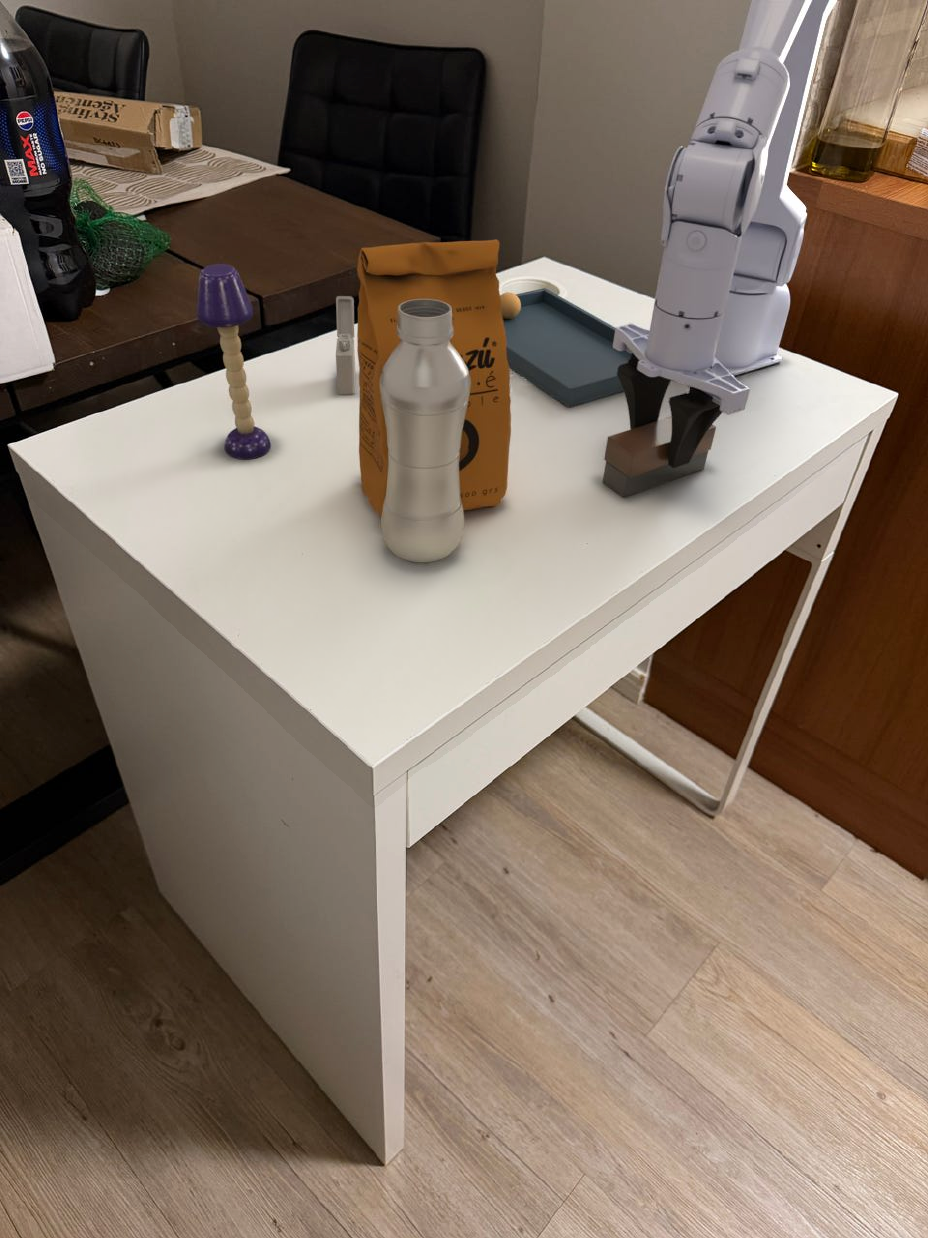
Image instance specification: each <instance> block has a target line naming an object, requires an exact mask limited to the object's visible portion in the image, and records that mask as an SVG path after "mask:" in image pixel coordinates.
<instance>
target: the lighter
mask: <svg viewBox="0 0 928 1238" xmlns="http://www.w3.org/2000/svg"><path fill="white" fill-rule="evenodd" d="M354 304H355V300H354V297H353V296H352V295H337V296H336V297H335V307H336V311H335V312H336V337H337V338H336V346H335V347H336V348H335V366H336V367H335V368H336V385H337V386H336V387H337V394H338V395H355V393H356V359H355V358H356V356H355V352H356V351H355V339H354V338H355V305H354Z"/></svg>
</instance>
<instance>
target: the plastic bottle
mask: <svg viewBox="0 0 928 1238" xmlns="http://www.w3.org/2000/svg"><path fill="white" fill-rule="evenodd" d="M397 335H398V337H399V338H401V342H400V343H399V344H398V345H397V347H396V348H395V349H394V351H393V352H392V353H391V355H390V356H389V358H388V360H387V361H386V363H385V365H384V366H383V369H382V373H381V376H380V381H379V383H380V393H381V399H382V405H383V411H384V417H385V423H386V430H387V446H388V461H389V465H388V477H387V489H386V497H385V500H384V504H383V510H382V517H381V516H380V518H381V519H380V527H381V532H382V537H383V541H384V543H385V545H386V546H387V548H388V549H389V550H390V551H391V552H392V553H393V554H394V555H395V556H397V557H399V558H401V559H403V560H405V561H409V562H413V563H414V562H415V563H431V562H435V561H439V560H442V559H445V558H447V557H448V556H450V555H451V554H452V553H453V552H454V551H455V550H456V549H457V548H458V547H459V545H460V543H461V540H462V539H463V533H464V529H465V526H466V525H465V513H464V510H463V505H462V500H461V497H460V477H459V459H460V448H461V439H462V430H463V425H464V420H465V415H466V410H467V405H468V400H469V395H470V388H471V379H470V375H469V371H468V368H467V366H466V364H465V363H464V361H463V359H462V358H461V356H460V354H459V353H458V352H457V350H456V349H455V348H454V347H453V345H452V344H451V343H450V339H451V338H452V337H453V326H452V308H451V306H450V305H449V304H447V303H445V302H442V301H439V300H433V299H414V300H409V301H405V302H403V303H401V304H400V305H399V306H398V325H397Z"/></svg>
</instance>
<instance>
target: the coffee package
mask: <svg viewBox="0 0 928 1238" xmlns="http://www.w3.org/2000/svg"><path fill="white" fill-rule="evenodd" d="M499 251H500V240H498V239H488V240H459V241H447V242H445V241H444V242H441V241H440V242H427V241H422V242H410V243H400V244H390V245H389V244H388V245H379V246H373V247H361V249H360V250H359V255H358V258H357V259H358V261H357V266H356V271H357V276H358V279H359V282H360V288H359V291H358V301H359V302H358V305H357V331H356V332H357V333H356V336H357V337H356V338H357V339H356V340H357V347H356V349H357V351H356V352H357V360H358V367H359V370H358V385H359V407H358V408H359V411H358V458H359V459H358V460H359V470H360V483H361V490H362V492H363V494H364V495H365V496H366V498H367V500H368V502H369V504H370V506H371V507H372V509H373V510H374V511H375V512H376V513H377V514H378V516H380V518H381V517H382V510H383V504H384V500H385V497H386V489H387V477H388V465H389V461H388V446H387V430H386V423H385V417H384V411H383V405H382V399H381V393H380V383H379V381H380V376H381V373H382V369H383V366H384V365H385V363H386V361H387V360H388V358H389V356H390V355H391V353H392V352H393V351H394V349H395V348H396V347H397V345H398V344H399V343H400V342H401V338H399V337H398V335H397V325H398V306H399V305H400V304H401V303H403V302H405V301H409V300H414V299H433V300H439V301H442V302H445V303H447V304H449V305H450V306H451V308H452V326H453V337H452V338H451V339H450V343H451V344H452V345H453V347H454V348H455V349H456V350H457V352H458V353H459V354H460V356H461V358H462V359H463V361H464V363H465V364H466V366H467V368H468V371H469V375H470V379H471V388H470V395H469V400H468V405H467V410H466V415H465V420H464V425H463V430H462V439H461V448H460V459H459V477H460V497H461V500H462V505H463V511H468V510H474V509H481V508H486V507H498V506H499V505H500V504H501V503H502V500H503V499H504V497H505V496H506V494H507V491H508V479H509V478H508V475H509V459H510V445H511V437H512V413H511V403H512V398H511V383H510V382H511V369H510V368H509V366H508V361H507V357H506V343H507V340H506V334H505V327H504V323H503V318H502V309H501V299H500V295H501V294H500V281H499V279H498V276H497V274H496V273H497V266H498V264H499Z"/></svg>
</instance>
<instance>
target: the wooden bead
mask: <svg viewBox="0 0 928 1238" xmlns="http://www.w3.org/2000/svg"><path fill="white" fill-rule="evenodd" d="M500 299H501V309H502V318H505V319H512V318H514V317H516V316H517V315H518V313H519V312H520V309H521V302H520V299H519V298H518V296H517V295H515V293H514V292H503V293H502V294H500Z"/></svg>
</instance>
